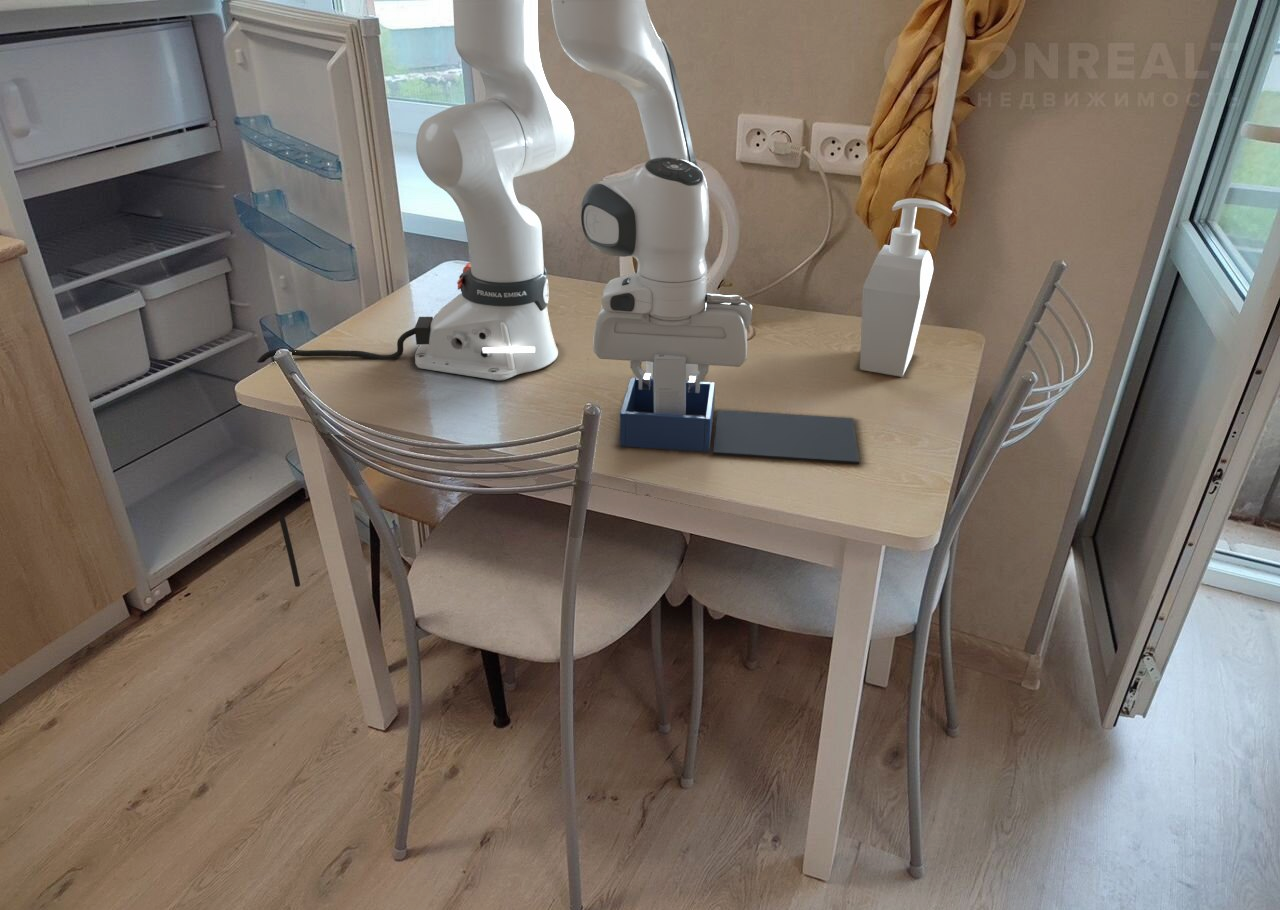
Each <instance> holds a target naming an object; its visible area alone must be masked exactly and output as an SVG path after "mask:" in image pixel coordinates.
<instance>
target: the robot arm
mask: <svg viewBox="0 0 1280 910" xmlns="http://www.w3.org/2000/svg"><path fill="white" fill-rule="evenodd" d="M550 4H551V10H552V17H553V18H552V19H553V23H554V28H555V32H556V35H557V38H558V41H559V43H560V46H561V48H562V50H563V51H564V53H565V54H566V56H568V57H569V58H570V59H571V60H572V61H573V62H574V63H575V64H576V65H578V66H579V67H581V68H582V69H583V70H586V71H587V72H589V73H592V74H593V75H596V76H600V77H602V78H605V79H608V80H610V81H613V82H615V83H616V84H618V85H620V86H621V87H622V88H624V89H625V90H626V91H627V92H628V93H629V94H630V95H631V97H632V98H633V100H634V101H635V104H636V105H637V109H638V113H639V117H640V118H639V119H640V121H641V126H642V130H643V134H644V139H645V143H646V147H647V152H648V155H649V160H648V161H646V162H645V163H644V164H643V165H641V167H640V168H638V169H636V170H634V171H631V172H629V173H626V174H623V175H619V176H615V177H611V178H606V179H603V180H601V181H598V182H597V183H593V184H592V185H590V186H589V187H588V189H587V190H586V192H585V193H584V196H583V197H582V201H581V206H580V223H581V229H582V232H583V234H584V236H585V238H586V240H587V242H588V243H589V244H590V245H591V246H592V247H593V248H594V249H595V250H597V251H598V252H600V253H601V254H603V255H607V256H612V257H619V258H620V257H621V258H623V257H631V258H634V259H635V260H636V261H637V269H636V272H634V273H630V274H626V275H622V276H618V277H615V278H612V279H610V280H609V281H608V283H607V284H606V285H605V287H604V289H603V292H602V295H601V307H600V309H599V312H598V314H597V317H596V320H595V323H594V329H593V341H592V342H593V343H592V344H593V345H592V350H593V353H594V354H595V356H596V357H597V358H598V359H600V360H613V361H629V362H630V364H629V365H630V367H629V368H630V369H631V371H632V373H633V374H634V375H635V378H638V379H639V390H650V386H651V381H650V380H651V374H646V371H644V369H643V367H642V364H643V362H646V361H647V362H654V356H655V355H676V356H684V357H686V364H698V371H699V372H698V373H697V375H696V376H690V378H689V389H688V392H689V393H699V391H700V382H703V380H704V379H705V377H706V376H707V374H708V373H709V370H710V366H721V367H736V368H737V367H741V366H743V364H744V363H745V362H746V361H747V358H748V332H747V331H748V328H749V327H750V326H751V324H752V322H753V306H752V304H751V303H750V301H748V300H747V299H744V298H742V296H741V295H737V294H731V295H723V294H719V293H718V294H716V293H707V286H708V285H707V281H708V266H707V265H708V264H707V260H706V247H707V245H708V242H709V236H710V197H709V189H708V184H707V180H706V176H705V174H704V171H703V170H702V169H701V168H700V167H699V166H698V163H697V159H696V156H695V152H694V147H693V142H692V139H691V135H690V130H689V124H688V120H687V115H686V111H685V106H684V101H683V98H682V92H681V88H680V83H679V79H678V75H677V70H676V67H675V64H674V63H675V62H674V60H673V57H672V54H671V51H670V48H669V47H668V45H667V44H666V42H665V41H664V39H663V38H661V37H660V36H659V35H658V32H657V31H656V29H655V27H654V24H653V22H652V19H651V16H650V14H649V13H650V12H649V9H648V6H647V2H646V0H550ZM452 10H453V12H452V13H453V32H454V33H453V34H454V45H455V49H456V51H457V53H458V56H459V57H460V58H461V59H462V60H463V61H464V62H465V63H466V64H467V65H468V66H470V67H471V68H472V69H474V70H476V71H478V72H479V75H480V76H481V78H482V81H483V85H484V89H485V99H484V100H481V101H475V102H470V103H463V104H457V105H453V106H451V107H449V108H446V109H444V110H441V111H439V112H437V113H435V114H434V115H432V116H429V117H428V118H426V119H425V120H423V122H422V123H421V125H420V127H419V128H418V131H417V135H416V141H415V142H416V143H415V148H416V149H415V150H416V156H417V160H418V163H419V165H420V167H421V170H422V171H423V173H424V174H425V175H426V177H427V178H428V179H429V181H431V182H432V183H433V184H434V185H435V186H437V187H439V188H440V189H442V190H443V191H445V192H446V193H447V194H448V195H449V196H450V197H451V199H452V200H453V201H454V203H455V205H456V206H457V208H458V210H459V212H460V215H461V217H462V220H463V224H464V227H465V233H466V239H467V247H468V257H469V262H467V263H466V265H465V266H464V267H463V269H462V273H460V275H459V277H458V278H459V279H458V280H457V282H456V283H457V284H456V285H457V290H458V291H459V290H460V293H459V294H458V295H455V297H454V298H453V299H451V300H450V301H448V303H446V304H445V305H443V306H442V307H441V308H440V309H439V310H437V312H436V313H435V314H434V315H433V316H419V317H418V318H417V322H416V323H415V325H414V327H413V328H412V329H409V330H407V331H405V332H403V333H402V334H401V335H400V336H399V337H398V339H397V342H396V349H397V350H396V352H394V353H391V354H377V353H373V352H368V351H364V350H363V351H362V350H347V349H346V350H345V349H341V350H340V349H314V350H313V349H312V350H309V349H307V350H305V349H303V350H302V349H292V348H287V349H288V350H289V351H291V352H292V355H291V356H295V357H357V358H364V359H370V360H396V359H398V358H400V357H402V355H403V353H404V344H405V341H407V339H408V338H410V337H412V336H414V335H415V342H416V343H415V344H416V345H418V347H417V349H416V351H415V354H414V362H415V366H416V367H417V368H418V369H422V370H428V371H435V372H442V373H447V374H454V375H460V376H466V377H474V378H480V379H487V380H493V381H506V380H508V379H511V378H513V377H515V376H517V375H520V374H524V373H525V374H526V373H529V372H533V371H537V370H540V369H543V368H545V367H547V366H549V365H551V364H552V363H553V362H555V360H556V359H557V358H558V356H559V350H558V347H557V345H556V341H555V339H554V338H555V337H554V335H553V331H552V327H551V322H550V317H549V316H550V315H549V311H548V304H549V299H550V295H549V293H550V292H549V291H550V290H549V279H548V273H547V272H548V271H547V268H546V267H545V265H544V247H543V227H542V222H541V219H540V218H539V216H538V215H537V214H536V213H535V212H534V211H533V210H532V209H531V208H529V207H528V206H526V205H524V204H522V203H519V201H518V199H517V196H516V193H515V188H514V178H517V177H521V176H525V175H529V174H533V173H536V172H540V171H544V170H546V169H547V168H549V167H551V166H553V165H554V164H556V163H558V162H559V161H561V160H563V159H564V158H565V157H567V156H568V155H569V153H570V152H571V150H572V148H573V146H574V142H575V125H574V120H573V117H572V114H571V112H570V110H569V109H568V107H567V105H565V103H564V102H563V101H562V100H561V99H560V98H559V97H557V96H556V94H554V92H553V90H552V89H551V87H550V85H549V83H548V80H547V78H546V74H545V72H544V68H543V65H542V60H541V55H540V46H539V21H538V20H539V16H538V15H539V14H538V0H452ZM279 349H280V348H276V349H272V350H268V351H265V352H264V353H263V354H261V356H259V358H258V359H257V361H256V363H259V364H261V363H264V362H266V361H267V360H268V359H270V358H272V357H274V355H275V353H276V351H277V350H279ZM295 351H296V352H295ZM275 356H276V355H275ZM277 515H278V521H279V524H280V528H281V531H282V535H283V540H284V544H285V548H286V552H287V557H288V560H289V565H290V569H291V574H292V577H293V582H294V587H296V588H298V587H300V586H301V581H300V576H299V573H298V572H299V571H298V567H297V562H296V558H295V554H294V550H293V545H292V542H291V541H292V540H291V537H290V533H289V529H288V525H287V522H286V517H285V515H282V514H277Z"/></svg>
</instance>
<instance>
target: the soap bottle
mask: <svg viewBox="0 0 1280 910" xmlns="http://www.w3.org/2000/svg"><path fill="white" fill-rule="evenodd" d="M918 208H922V209H932V210H935V211H937V212H940V213H942V214H943V215H945V216H947V217H950V216H951V215H952V213H953V210H951V209H950V208H949V207H947V206H945V205H944V204H942V203H939V202H938V201H934V200H930V199H923V198H916V197H914V198H913V197H911V198H903V199H900V200H897V201H895V203H894V204H893V206H891V210H892V212H895V211H897V210H899V209H900V210H901V215H900V216H901V217H900V221H899V222H900V223H899V226H898V227H894V228H892V229H891V235H890V240H889V241H890V242H889V245H888V244H884V245H883V246H882V247H881V249H880V251H878V253H877V255H876V256H875V259H874V262H873V264H872V266H871V268H870V270H869V272H868V274H867V276H866V279H865V281H864V284H863V286H862V294H861V295H862V296H861V297H862V299H861V326H860V328H861V329H860V351H859V352H860V353H859V354H860V355H859V370H861V371H867V372H871V373H877V374H884V375H888V376H889V375H890V376H894V377H900V378H903V377H904V374H905V372H906V371H907V368H908V366H909V364H910V361H911V360H912V358H913V354H914V350H915V346H916V342H917V338H918V334H919V330H920V326H921V321H922V318H923V315H924V314H923V313H924V310H925V307H926V302H927V297H928V293H929V290H930V286H931V282H932V278H933V273H934V261H933V257H932V254H931V252H930V251H929V250H928V249H921V248H919V246H920V238H921V231H920V230H919V229H917V228H915V222H916V216H917V212H918V211H917V210H918Z"/></svg>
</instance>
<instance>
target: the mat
mask: <svg viewBox="0 0 1280 910" xmlns="http://www.w3.org/2000/svg"><path fill="white" fill-rule="evenodd" d="M714 431H715V432H714V438H713V439H714V441H713V448H712V449H713V450H712V455H714V456H728V457H729V456H730V457H744V458H760V459H774V460H775V459H776V460H790V461H804V462H805V461H806V462H816V463H817V462H819V463H832V464H833V463H834V464H847V465H848V464H849V465H860V457H859V451H858V449H859V448H858V444H857V437H856V436H857V435H856V430H855V424H854V418H852V417H837V416H836V417H835V416H824V415H823V416H822V415H804V414H790V413H789V414H788V413H772V412H756V411H743V410H725V409H724V410H723V409H717V414H716V423H715V430H714Z"/></svg>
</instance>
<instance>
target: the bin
mask: <svg viewBox="0 0 1280 910" xmlns="http://www.w3.org/2000/svg"><path fill="white" fill-rule="evenodd" d="M650 381H651V386H650V390H639V379H638V378H637V377H630V380H629V383H628V385H627V389H626V393H625V395H624V399H623V403H622V406H621V409H620V413H619V440H620V441H619V442H620V443H619V446H620V447H627V448H640V449H656V450H670V451H671V450H673V451H688V452H699V453H700V452H702V453H703V452H704V453H710V446H711V440H712V439H711V438H712V432H713V431H712V430H713V421H714V413H715V412H714V411H715V394H716V393H715V392H716V382H712V381H711V382H710V381H701V382H700V391H699V393H689V392H688V389H689V381H686V415H674V414H658V413H654V391H653V379H651V380H650Z"/></svg>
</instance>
